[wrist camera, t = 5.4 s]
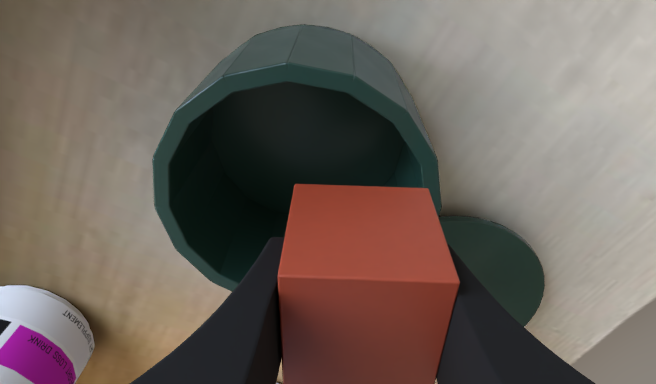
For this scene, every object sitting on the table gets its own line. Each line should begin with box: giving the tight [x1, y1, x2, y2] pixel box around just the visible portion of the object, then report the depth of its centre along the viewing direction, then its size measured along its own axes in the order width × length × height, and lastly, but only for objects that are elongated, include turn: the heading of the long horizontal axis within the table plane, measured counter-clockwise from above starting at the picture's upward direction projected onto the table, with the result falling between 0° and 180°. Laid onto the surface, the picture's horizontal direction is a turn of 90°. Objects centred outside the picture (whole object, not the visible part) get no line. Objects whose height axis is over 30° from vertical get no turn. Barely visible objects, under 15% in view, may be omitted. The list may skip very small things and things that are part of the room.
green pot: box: [152, 24, 442, 292], centre depth 18 cm, size 10×10×6 cm
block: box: [277, 184, 460, 384], centre depth 13 cm, size 4×4×4 cm
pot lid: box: [438, 216, 544, 327], centre depth 24 cm, size 11×11×5 cm
